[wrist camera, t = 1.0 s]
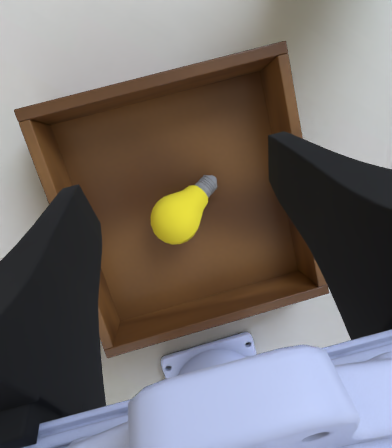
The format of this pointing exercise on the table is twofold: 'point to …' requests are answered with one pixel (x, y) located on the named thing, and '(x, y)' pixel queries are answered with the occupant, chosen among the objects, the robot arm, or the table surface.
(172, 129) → the tray
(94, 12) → the table surface
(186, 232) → the light bulb
